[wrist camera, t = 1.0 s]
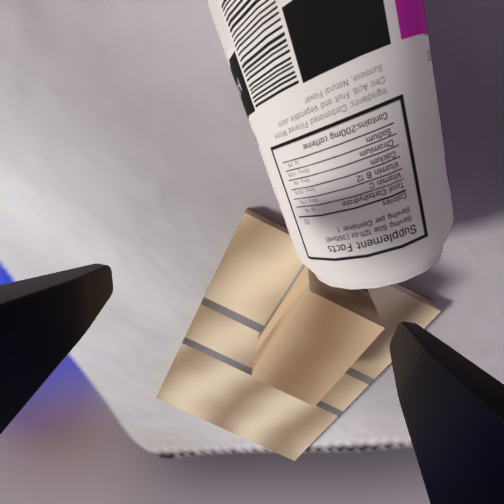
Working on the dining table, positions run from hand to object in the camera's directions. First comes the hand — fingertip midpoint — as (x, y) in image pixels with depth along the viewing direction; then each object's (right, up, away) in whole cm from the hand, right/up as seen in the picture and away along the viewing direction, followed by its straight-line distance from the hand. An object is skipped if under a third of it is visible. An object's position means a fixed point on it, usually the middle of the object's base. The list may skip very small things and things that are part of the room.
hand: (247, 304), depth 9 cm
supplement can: (+2, +15, +3) cm, 15 cm away
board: (+2, -8, +17) cm, 19 cm away
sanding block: (+5, -3, +13) cm, 14 cm away
